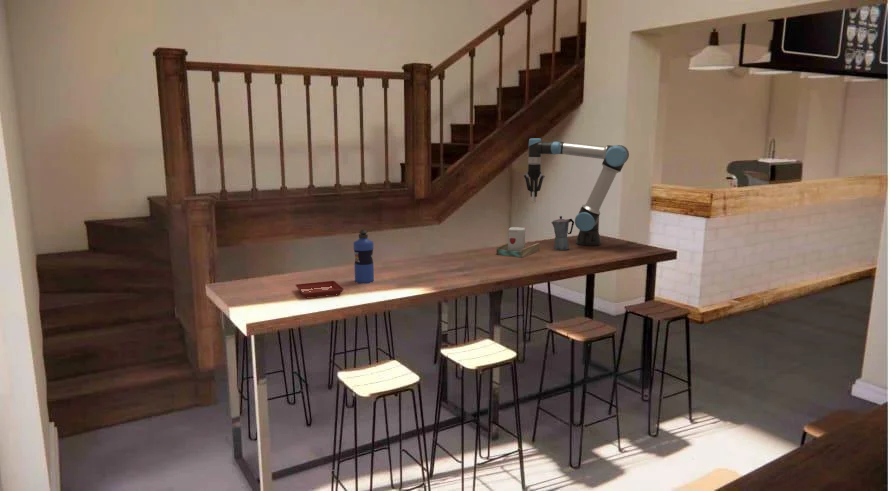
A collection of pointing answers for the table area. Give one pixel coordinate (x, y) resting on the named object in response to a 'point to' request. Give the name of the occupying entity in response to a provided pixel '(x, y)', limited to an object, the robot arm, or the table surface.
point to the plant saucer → (319, 292)
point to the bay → (524, 252)
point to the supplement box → (516, 239)
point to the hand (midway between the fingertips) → (533, 202)
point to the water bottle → (363, 259)
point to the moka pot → (561, 233)
